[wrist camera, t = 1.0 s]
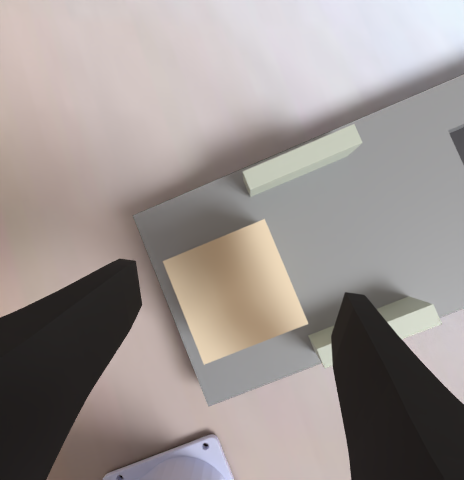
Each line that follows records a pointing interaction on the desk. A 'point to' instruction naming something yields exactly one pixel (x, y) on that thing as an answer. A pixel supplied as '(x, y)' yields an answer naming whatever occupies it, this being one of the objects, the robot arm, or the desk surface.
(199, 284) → the maple block
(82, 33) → the desk surface
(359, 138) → the tunnel deck
